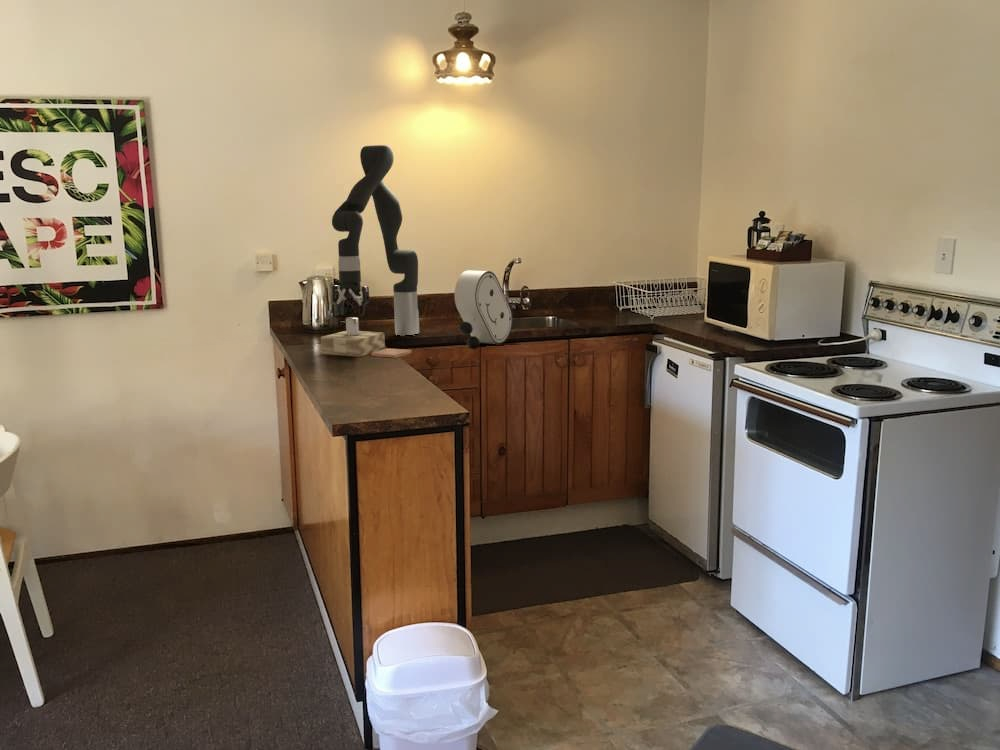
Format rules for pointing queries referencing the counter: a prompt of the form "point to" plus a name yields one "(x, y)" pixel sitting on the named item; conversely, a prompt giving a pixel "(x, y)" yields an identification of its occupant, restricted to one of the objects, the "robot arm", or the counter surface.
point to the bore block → (352, 343)
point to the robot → (482, 308)
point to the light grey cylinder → (352, 326)
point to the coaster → (391, 353)
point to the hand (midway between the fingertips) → (351, 315)
